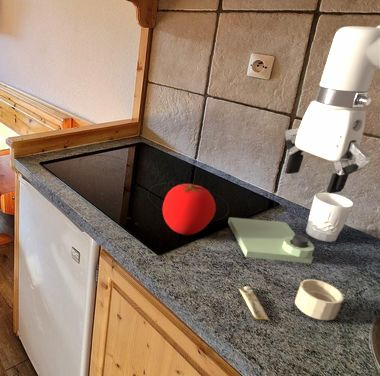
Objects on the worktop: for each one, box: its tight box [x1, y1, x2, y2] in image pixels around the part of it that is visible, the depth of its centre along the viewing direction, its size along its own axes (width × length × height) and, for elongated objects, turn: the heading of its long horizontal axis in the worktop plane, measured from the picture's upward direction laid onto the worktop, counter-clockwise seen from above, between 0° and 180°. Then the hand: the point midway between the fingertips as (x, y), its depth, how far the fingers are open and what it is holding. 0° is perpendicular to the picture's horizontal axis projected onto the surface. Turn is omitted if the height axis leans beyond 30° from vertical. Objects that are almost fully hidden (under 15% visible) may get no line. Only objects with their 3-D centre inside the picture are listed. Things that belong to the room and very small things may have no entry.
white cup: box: [305, 192, 354, 243], centre depth 100 cm, size 8×8×10 cm
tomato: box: [162, 182, 217, 236], centre depth 100 cm, size 12×12×13 cm
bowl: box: [294, 278, 345, 321], centre depth 76 cm, size 7×7×4 cm
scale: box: [227, 216, 315, 264], centre depth 98 cm, size 14×16×4 cm
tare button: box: [291, 234, 310, 248], centre depth 91 cm, size 3×3×2 cm
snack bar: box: [236, 285, 271, 323], centre depth 77 cm, size 10×2×3 cm
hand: (311, 181), depth 82 cm, fingers open, 9 cm apart
